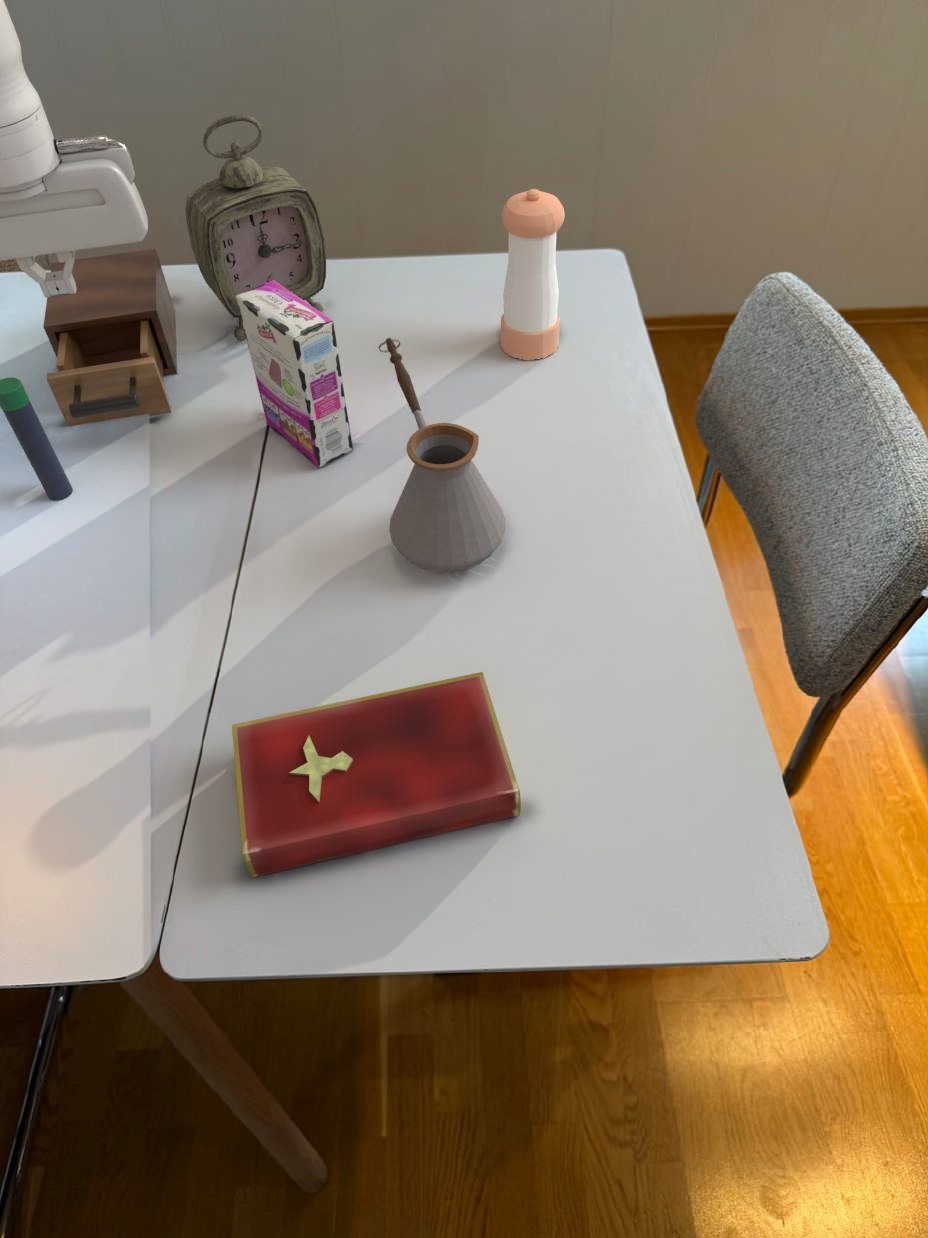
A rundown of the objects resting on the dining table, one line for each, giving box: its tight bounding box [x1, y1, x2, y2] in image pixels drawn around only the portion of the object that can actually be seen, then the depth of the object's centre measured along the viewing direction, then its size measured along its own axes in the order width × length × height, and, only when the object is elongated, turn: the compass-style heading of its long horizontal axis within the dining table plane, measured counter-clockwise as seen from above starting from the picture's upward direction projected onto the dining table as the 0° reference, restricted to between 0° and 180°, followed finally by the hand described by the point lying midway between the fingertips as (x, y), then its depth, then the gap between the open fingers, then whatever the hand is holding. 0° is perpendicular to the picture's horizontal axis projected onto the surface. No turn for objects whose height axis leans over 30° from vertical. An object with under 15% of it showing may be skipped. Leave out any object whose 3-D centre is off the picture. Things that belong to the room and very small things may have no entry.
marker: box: [0, 376, 74, 502], centre depth 91 cm, size 3×3×15 cm
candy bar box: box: [236, 280, 354, 469], centre depth 96 cm, size 11×5×16 cm, turn 41°
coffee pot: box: [377, 337, 506, 574], centre depth 88 cm, size 21×12×15 cm, turn 21°
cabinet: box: [42, 248, 178, 377], centre depth 112 cm, size 15×13×9 cm
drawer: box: [46, 318, 172, 427], centre depth 104 cm, size 19×12×7 cm, turn 13°
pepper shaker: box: [500, 188, 566, 361], centre depth 105 cm, size 7×7×19 cm
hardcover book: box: [231, 671, 522, 878], centre depth 72 cm, size 12×21×4 cm, turn 103°
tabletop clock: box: [185, 113, 327, 342], centre depth 109 cm, size 14×9×25 cm, turn 120°
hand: (61, 292), depth 89 cm, fingers closed
